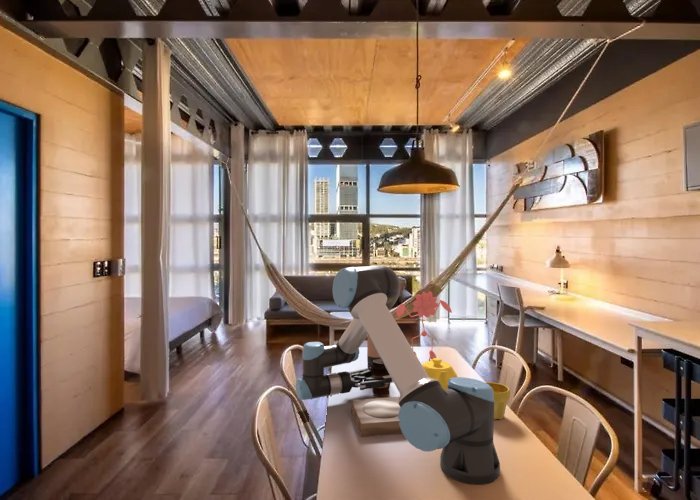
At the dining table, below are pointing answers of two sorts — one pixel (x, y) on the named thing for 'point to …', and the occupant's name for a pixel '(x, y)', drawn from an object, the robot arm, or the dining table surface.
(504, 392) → the plant pot
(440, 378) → the teapot
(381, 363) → the coffee cup
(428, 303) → the figurine
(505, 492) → the dining table surface
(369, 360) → the travel mug
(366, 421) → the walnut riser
